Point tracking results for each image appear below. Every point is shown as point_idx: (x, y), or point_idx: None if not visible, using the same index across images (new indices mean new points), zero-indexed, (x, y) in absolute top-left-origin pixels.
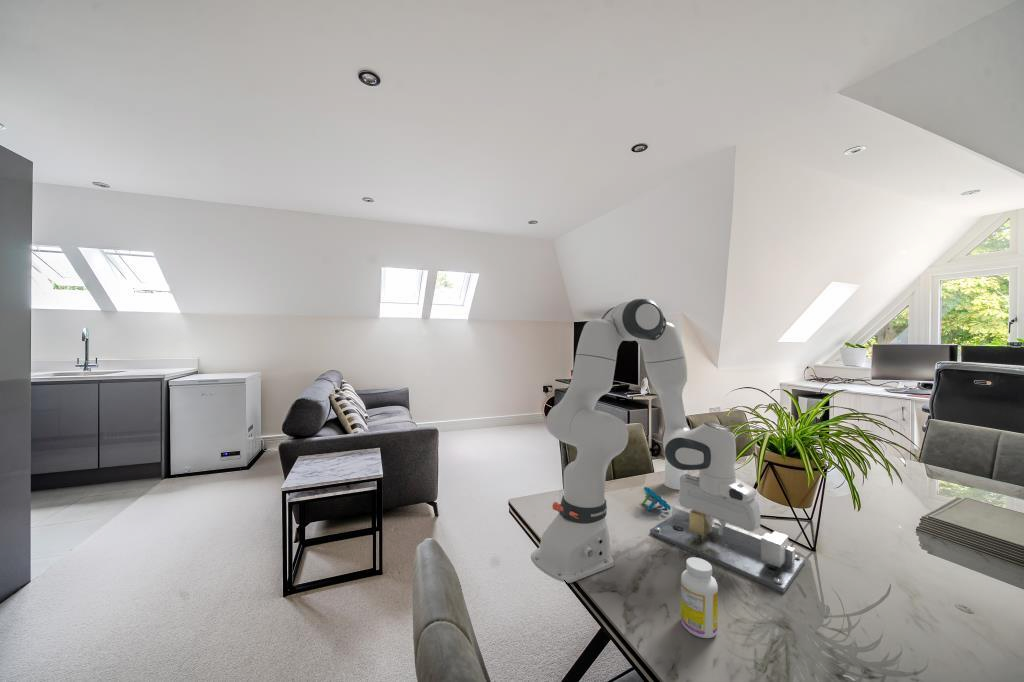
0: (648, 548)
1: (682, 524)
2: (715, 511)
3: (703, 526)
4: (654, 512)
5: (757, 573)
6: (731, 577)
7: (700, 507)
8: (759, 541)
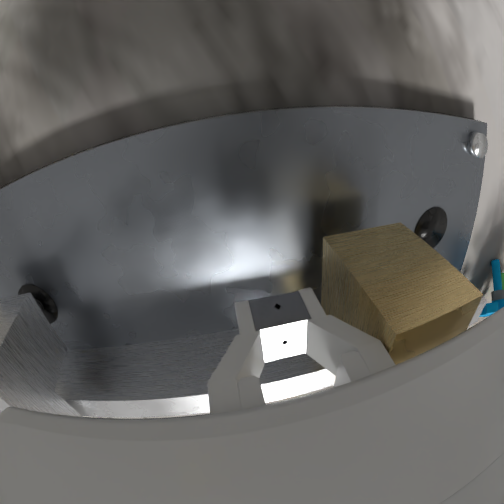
0: (427, 3)
1: None
2: (321, 469)
3: (357, 275)
4: (482, 265)
5: (12, 212)
6: (65, 93)
7: (467, 383)
8: (109, 391)
